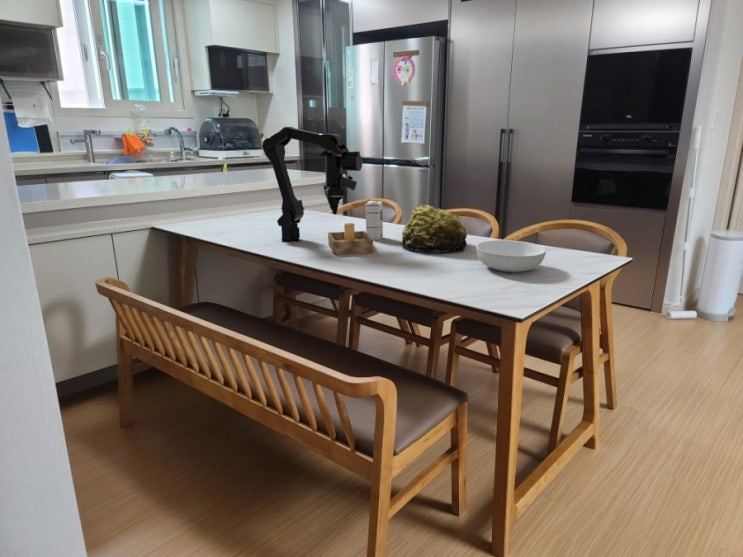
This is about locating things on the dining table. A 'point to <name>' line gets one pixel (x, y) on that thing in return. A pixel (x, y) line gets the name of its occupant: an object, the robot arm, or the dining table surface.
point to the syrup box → (374, 220)
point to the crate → (350, 243)
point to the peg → (349, 232)
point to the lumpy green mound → (433, 231)
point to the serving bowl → (510, 255)
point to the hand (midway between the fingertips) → (333, 212)
